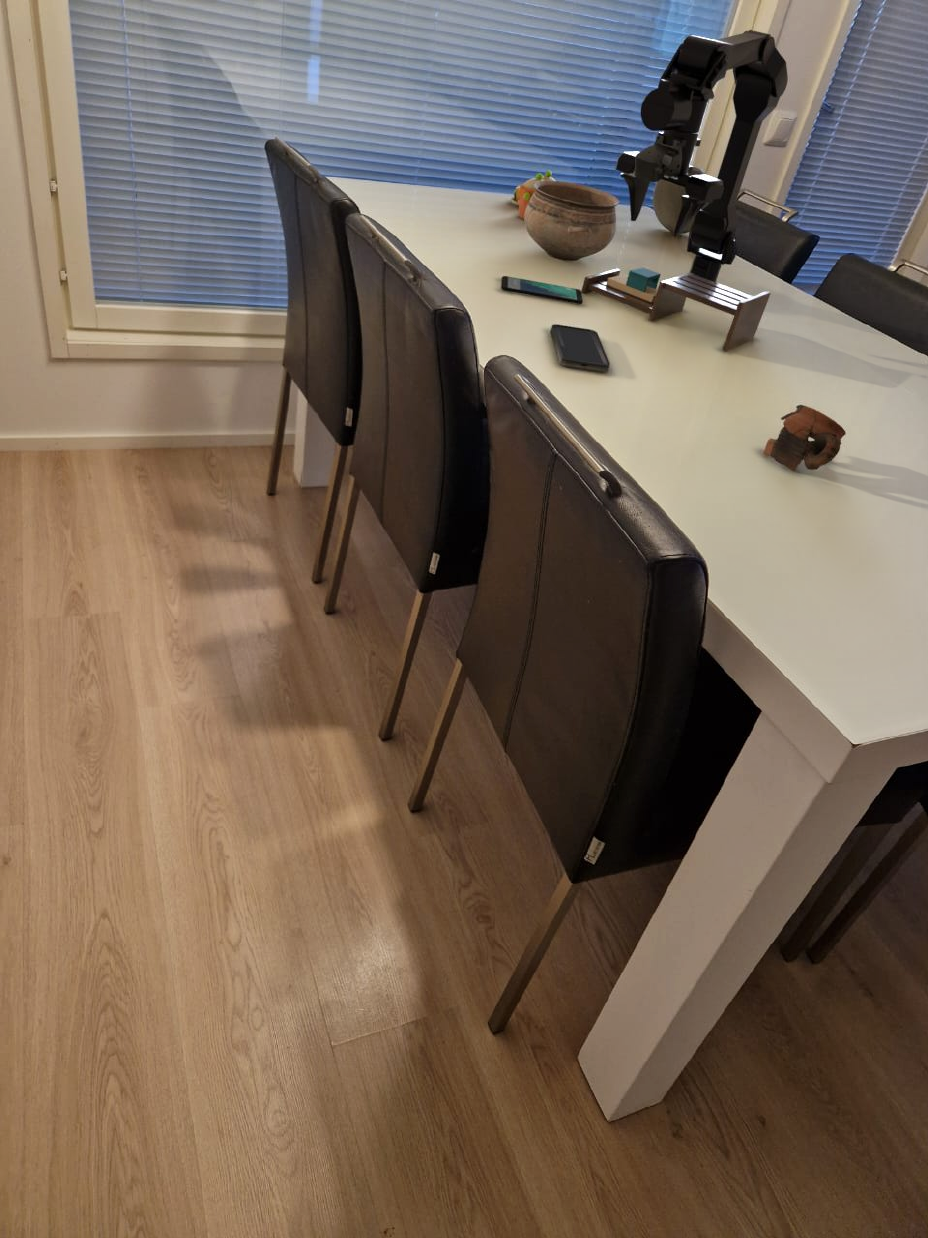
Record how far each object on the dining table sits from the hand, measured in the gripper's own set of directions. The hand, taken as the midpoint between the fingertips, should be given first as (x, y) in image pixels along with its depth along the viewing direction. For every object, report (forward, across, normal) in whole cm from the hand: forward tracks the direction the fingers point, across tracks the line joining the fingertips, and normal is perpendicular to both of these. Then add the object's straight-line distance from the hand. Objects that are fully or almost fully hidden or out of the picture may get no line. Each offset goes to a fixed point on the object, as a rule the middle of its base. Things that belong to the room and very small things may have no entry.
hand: (654, 228), depth 152 cm
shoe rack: (+14, +5, +4) cm, 15 cm away
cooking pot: (+14, -27, +12) cm, 33 cm away
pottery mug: (+14, +50, -28) cm, 59 cm away
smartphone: (+14, -12, -12) cm, 22 cm away
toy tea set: (+14, -52, +34) cm, 64 cm away
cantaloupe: (+15, -32, +60) cm, 70 cm away
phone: (+14, +9, -28) cm, 33 cm away
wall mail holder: (+12, -2, +3) cm, 13 cm away
